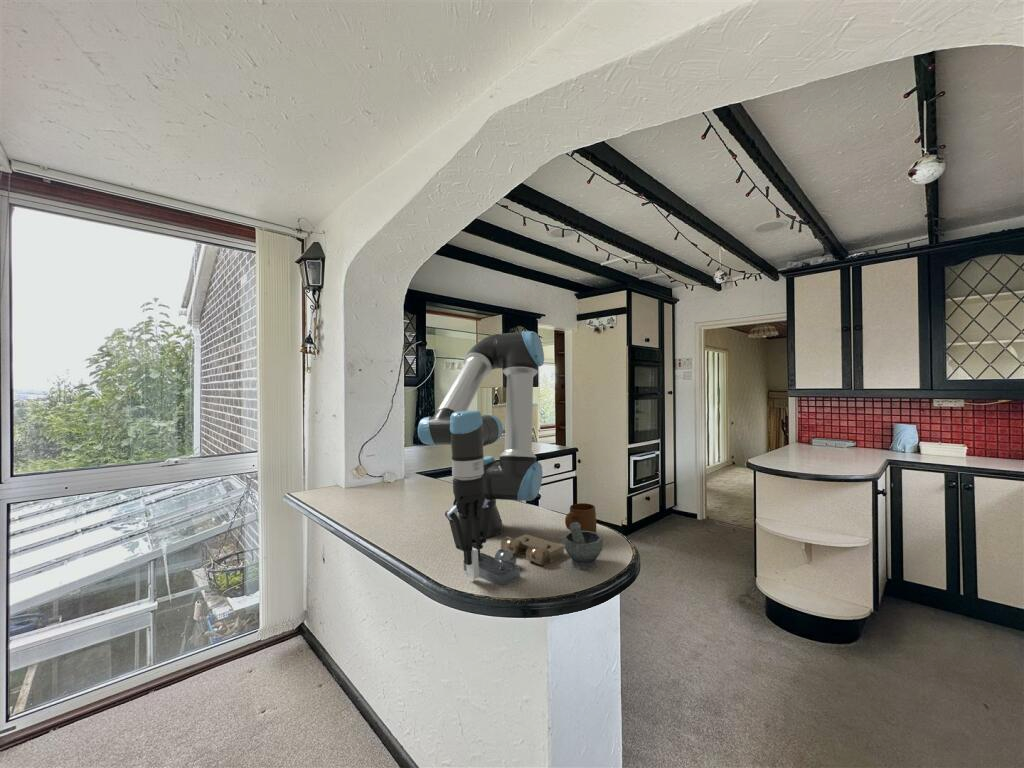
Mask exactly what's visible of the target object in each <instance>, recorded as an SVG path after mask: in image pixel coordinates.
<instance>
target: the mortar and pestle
mask: <svg viewBox="0 0 1024 768" xmlns="http://www.w3.org/2000/svg"><path fill="white" fill-rule="evenodd" d="M569 528H570V530H569V532H567V533H566V534H564V535H563V537H562V541H563V546H564V551H565V552H566V553H567V555H568V557H569V559H571V562H570V563H571V564H570V565H571V566H572V567H573V568H574V569H577V570H579V571H580V570H583V571H590V570H592V569H595V568H596V567H597V564H598V563H597V561H596V560H597V558H599V556H600V555H601V552H602V551H603V545H604V539H603V538H604V537H602V535H601V534H600V533H598V532H597V533H595V532H591V531H581V526H580V524H579V523H578V522H573V523H571V524H570V526H569Z"/></svg>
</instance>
